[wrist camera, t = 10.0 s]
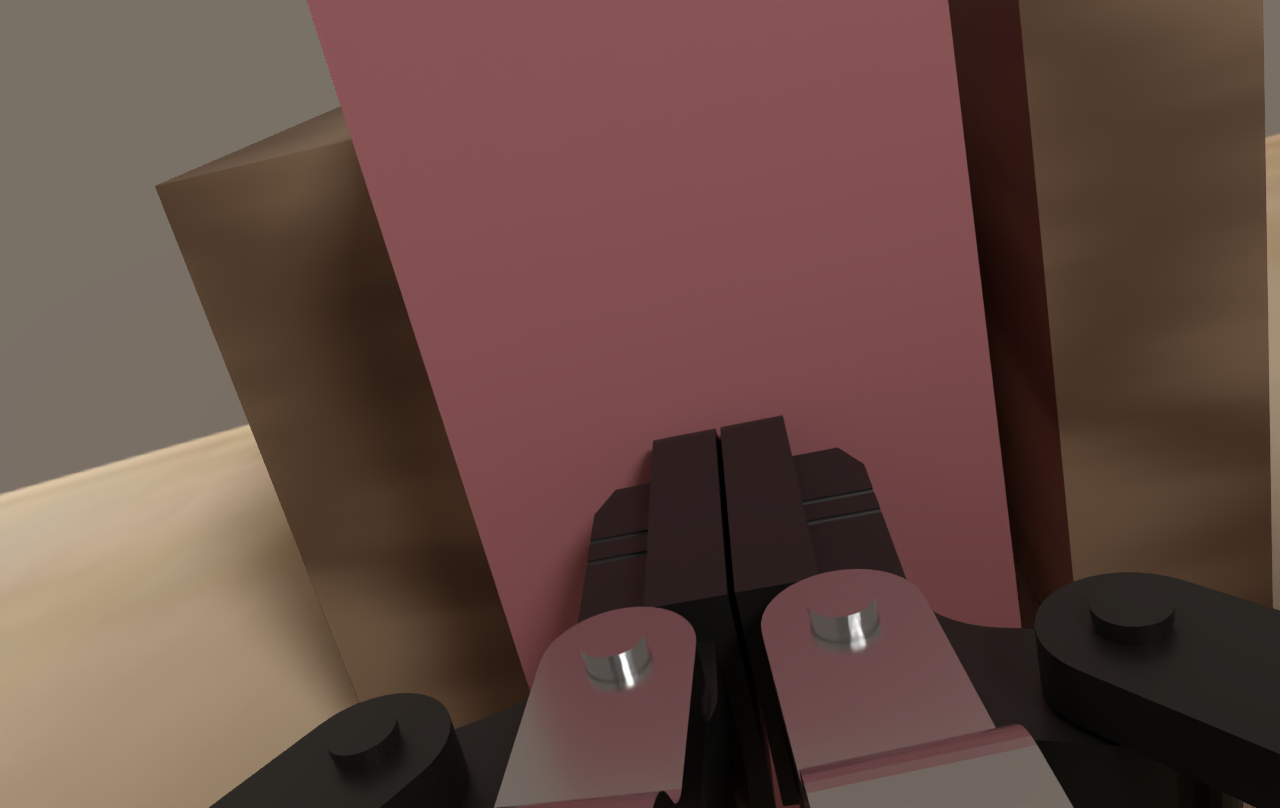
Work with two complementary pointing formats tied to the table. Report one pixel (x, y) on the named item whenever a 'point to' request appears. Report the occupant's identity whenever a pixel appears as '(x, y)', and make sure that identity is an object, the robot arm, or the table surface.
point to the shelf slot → (1013, 304)
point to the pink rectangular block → (683, 261)
